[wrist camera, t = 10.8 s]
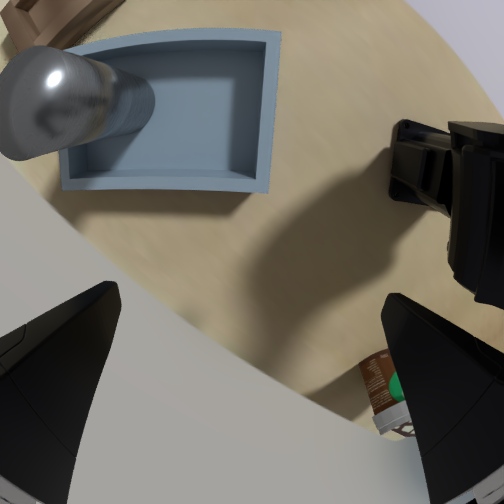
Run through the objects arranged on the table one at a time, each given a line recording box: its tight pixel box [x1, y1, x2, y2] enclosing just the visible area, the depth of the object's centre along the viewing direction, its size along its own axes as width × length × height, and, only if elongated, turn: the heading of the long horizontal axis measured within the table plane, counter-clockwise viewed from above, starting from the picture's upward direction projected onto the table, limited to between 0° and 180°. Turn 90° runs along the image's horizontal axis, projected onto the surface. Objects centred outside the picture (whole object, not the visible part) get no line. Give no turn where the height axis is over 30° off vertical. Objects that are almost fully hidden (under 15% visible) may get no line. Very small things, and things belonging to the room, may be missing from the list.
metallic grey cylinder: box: [0, 45, 155, 161], centre depth 11 cm, size 4×4×11 cm
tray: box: [59, 28, 281, 194], centre depth 16 cm, size 14×10×4 cm
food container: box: [359, 348, 416, 437], centre depth 25 cm, size 12×6×10 cm, turn 51°
